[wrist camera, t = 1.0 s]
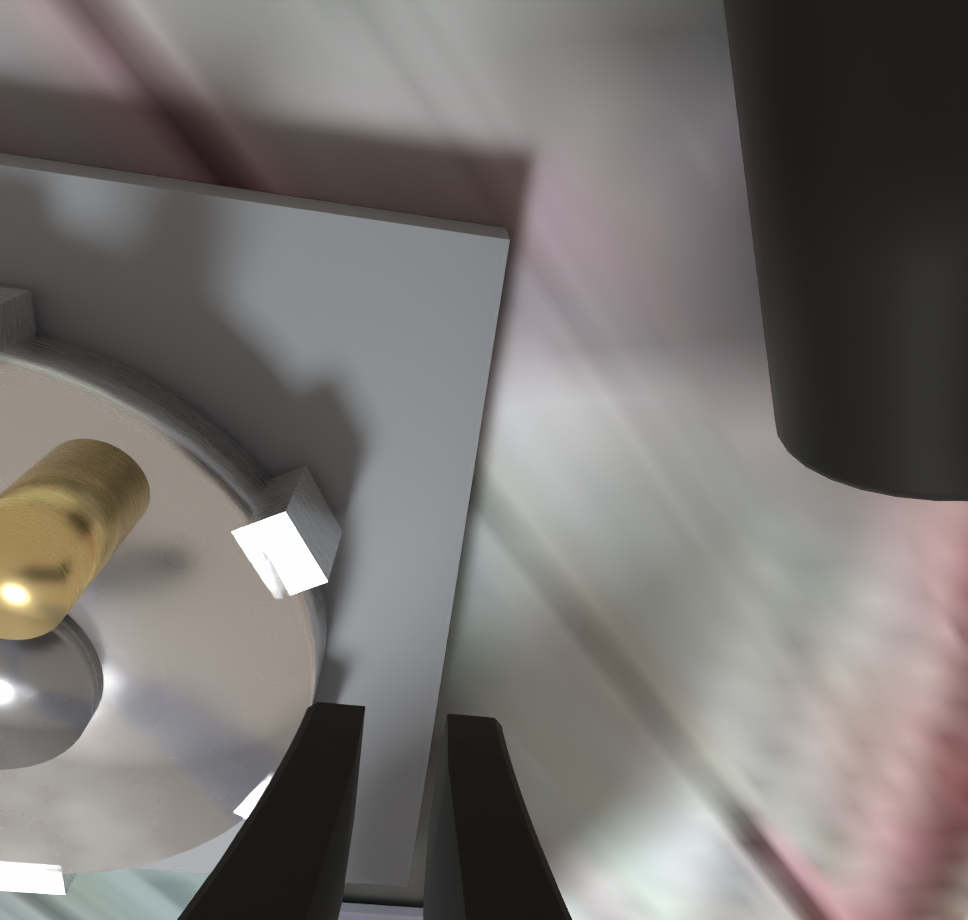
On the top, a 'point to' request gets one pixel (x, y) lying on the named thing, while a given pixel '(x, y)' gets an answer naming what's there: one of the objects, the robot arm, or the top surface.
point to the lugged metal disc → (140, 614)
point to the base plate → (300, 405)
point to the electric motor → (861, 232)
